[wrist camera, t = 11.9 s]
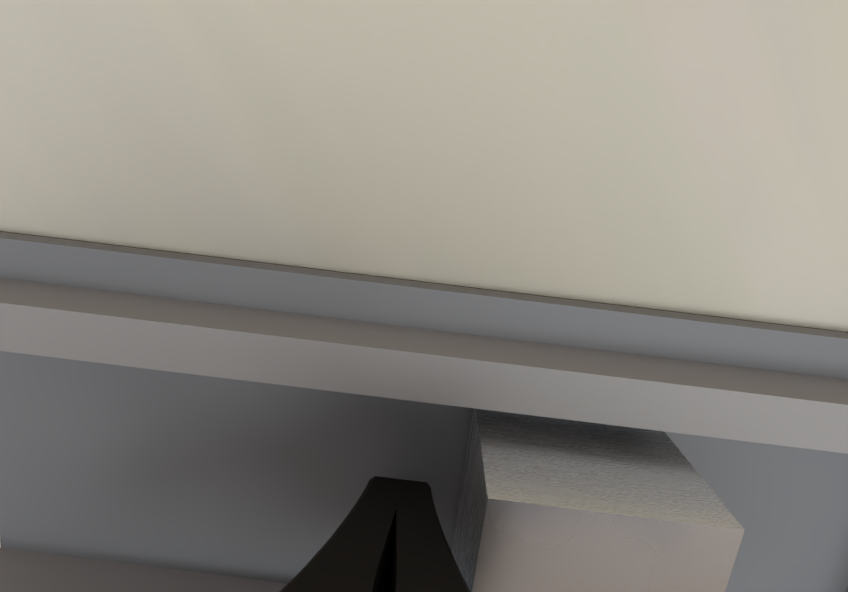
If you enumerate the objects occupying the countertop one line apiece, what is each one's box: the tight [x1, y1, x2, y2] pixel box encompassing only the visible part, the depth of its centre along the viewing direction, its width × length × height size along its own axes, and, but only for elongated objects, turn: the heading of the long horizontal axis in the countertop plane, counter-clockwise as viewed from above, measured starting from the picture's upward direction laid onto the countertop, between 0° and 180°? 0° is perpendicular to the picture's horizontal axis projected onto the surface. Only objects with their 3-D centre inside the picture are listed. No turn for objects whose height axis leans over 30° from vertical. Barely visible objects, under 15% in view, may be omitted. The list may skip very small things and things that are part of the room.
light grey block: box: [451, 408, 745, 592], centre depth 10 cm, size 4×5×4 cm
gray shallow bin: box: [0, 232, 848, 592], centre depth 11 cm, size 22×10×4 cm, turn 84°
